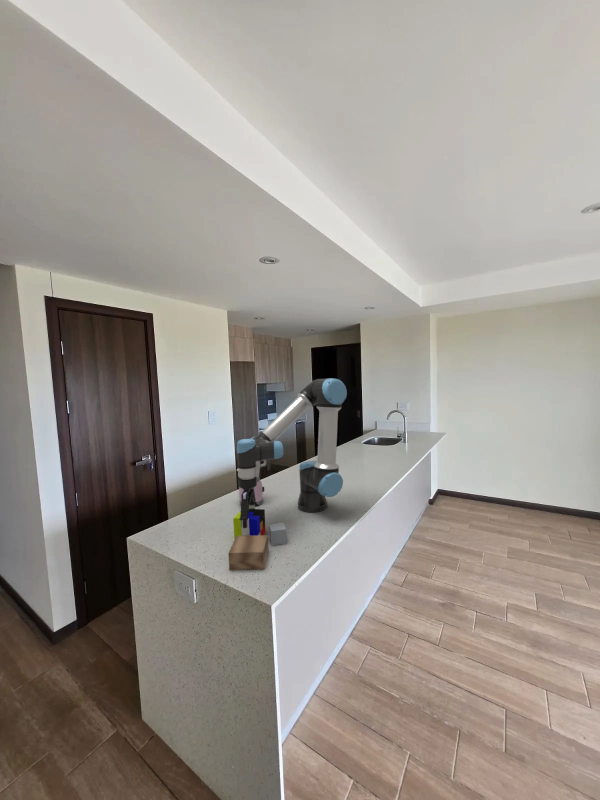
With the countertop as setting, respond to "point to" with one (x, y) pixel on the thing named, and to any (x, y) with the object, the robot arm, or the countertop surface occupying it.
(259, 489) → the blender
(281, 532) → the slate block
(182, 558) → the countertop surface
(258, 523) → the puzzle toy
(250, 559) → the walnut block
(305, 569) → the countertop surface
